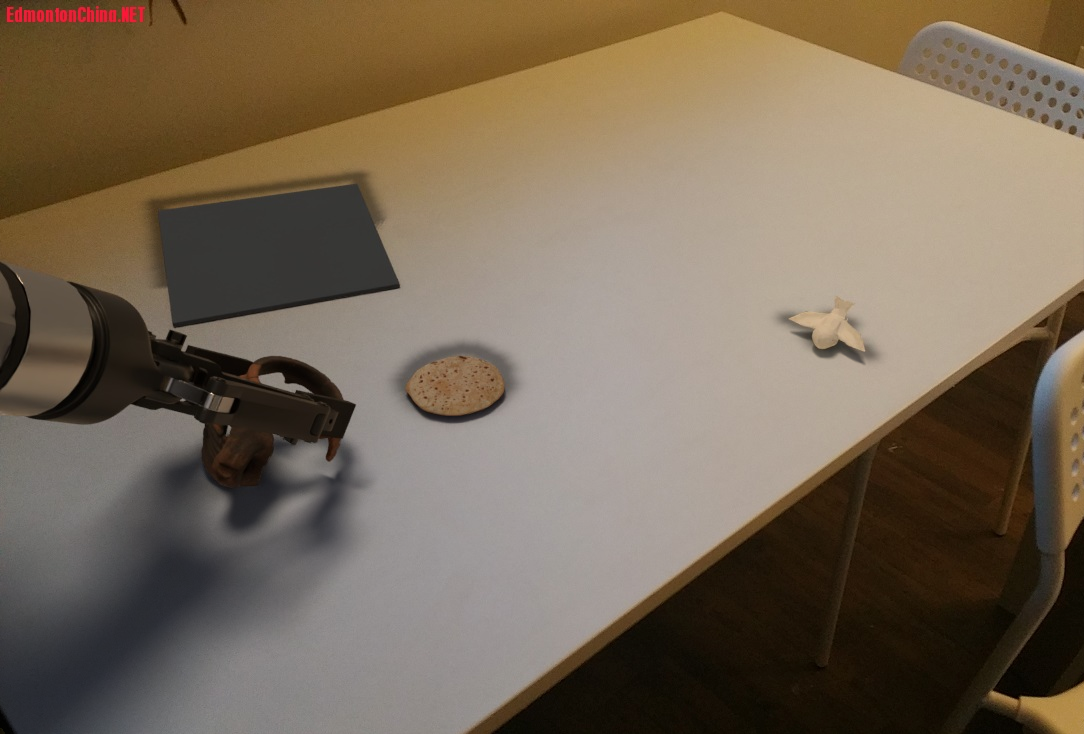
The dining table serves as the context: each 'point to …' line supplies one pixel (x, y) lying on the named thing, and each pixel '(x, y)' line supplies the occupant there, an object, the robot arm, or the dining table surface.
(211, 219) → the placemat
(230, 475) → the broken brown clay pot
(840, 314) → the white bird figurine
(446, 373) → the flatbread
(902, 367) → the dining table surface
